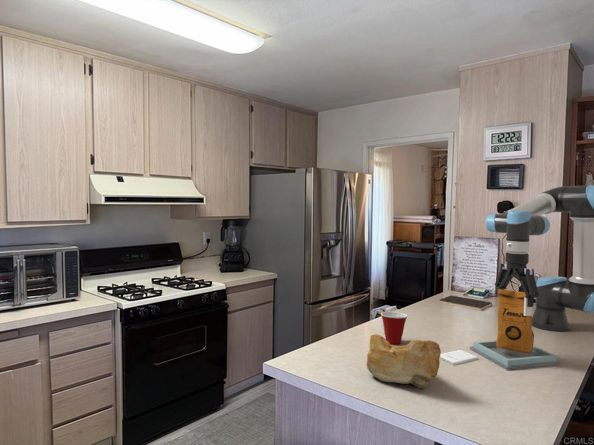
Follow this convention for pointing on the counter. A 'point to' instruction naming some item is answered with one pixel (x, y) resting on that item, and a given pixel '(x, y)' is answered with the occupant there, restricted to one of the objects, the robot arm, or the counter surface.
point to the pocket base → (514, 356)
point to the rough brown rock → (403, 361)
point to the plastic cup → (393, 326)
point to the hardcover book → (465, 302)
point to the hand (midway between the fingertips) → (514, 310)
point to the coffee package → (514, 323)
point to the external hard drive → (457, 357)
